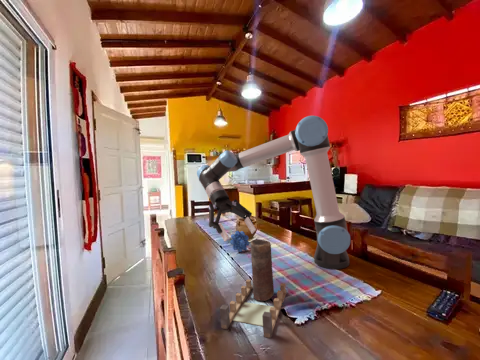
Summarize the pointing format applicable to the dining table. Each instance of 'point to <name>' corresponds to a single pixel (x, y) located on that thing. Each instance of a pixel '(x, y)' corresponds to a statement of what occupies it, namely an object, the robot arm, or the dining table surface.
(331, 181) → the robot arm
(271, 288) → the brown tall cylinder
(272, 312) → the comb lane
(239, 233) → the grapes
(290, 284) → the dining table surface
